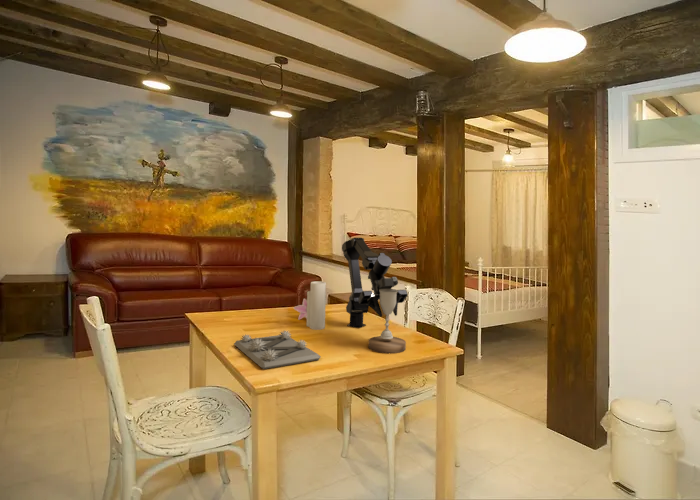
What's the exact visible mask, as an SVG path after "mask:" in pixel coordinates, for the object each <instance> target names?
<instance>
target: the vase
mask: <svg viewBox="0 0 700 500" xmlns="http://www.w3.org/2000/svg"><path fill="white" fill-rule="evenodd" d="M326 289H327V282H325V281H321V280H320V281H315V280H314V281H311V282H310V290H308V291H306V300H307V319H306V327H307V328H308V327H309V329H310V330H313V331H314V330H315V331H317V330H319V331H320V330H325V328H326V298H327V295H326V294H327V290H326Z"/></svg>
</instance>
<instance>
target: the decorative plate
mask: <svg viewBox="0 0 700 500" xmlns="http://www.w3.org/2000/svg"><path fill="white" fill-rule="evenodd" d="M279 333H280V334H278V335H269V336H262V337H254V338H253V337H251V335H250V334H247V333H245V334H242V335H241V337H240V340H239V339H237V340H235V342H234V343H233V344H234V346H236V347H237V348H238V349H239V350H240V351H241V352H242V353H244V354H245V355H246V356H247V357H248V358H249V359H251V360H252V361H253V362H254V363H255V364H257V365H258V366H259V367H260V368H261V369H262V370H269V368H270V369H274V368H275V367H276V368H280V367H281V366H282V367H287V366H292V365H297V364H304V362H305V363H309V362H316V361H319V360H320V359H321V357H322V356H321V355H319V354H318V353H317V352H315V351H314V350H312V349H310V348H308V345H307V344H308V343H307V342H306V341H305V339H304V340H303V339H299V340H295V339H294V338H292V336H291V335H292V333H290V331H289V330H283V331H279Z"/></svg>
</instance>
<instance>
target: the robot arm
mask: <svg viewBox="0 0 700 500" xmlns="http://www.w3.org/2000/svg"><path fill="white" fill-rule="evenodd" d="M341 251H342V252H343V257H344V258H345V260H346V261H347V262H348V270H349V278H350V286H351V293H350V295H349V297H348V299H349V301H348V303H347V304H346V307H345V308H346V309H345V310H346V313H348V314H349V323H348V324H347V325H346V326H347V327H351V328H356V329H361V328H362V327H363V328H364V327H366V326H367V324H366V323H364V314H367V313H368V312H369V307H370V308H371V309H372V311H374V312H375V313H376V314H377V315H378V316H379V317H383V311H382V308H381V305H380V302H379V300H380V292H379V289H393V288H394V287H396V286H397V285H398V284H399V282H398V278H397V277H396V276H392V277H385V275H386V274H387V273H388V271H389V269H390V267H391V265H392V262H393V260H392V259H391V257H390V256H388V255H386V254H385V252H380V253H377V252H373V251H372V250H371V248H370V247H369V245H368V244H367V243H366V242H365V238H364V237H352V238H351V239H349V240H346V241H344V242H343V243H342V244H341ZM360 257H361V259H362V262H361V264H362V267H363V268H364V270H366V271H367V270H368V276H367V279H368V280H370V283H371V290H363V285H362V277H361V270H360V262H359V258H360ZM397 290H398V292H397V296H396V305H395V308H394V310H393V311H392V313H393V314H394V316H395V317H397V316H398V307H399V306H398V305H399V304H402V303H404V302H405V301H406V299H407V298H408V296H409V295H408V294H409V293H408V290H407V289H397Z"/></svg>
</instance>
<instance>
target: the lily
mask: <svg viewBox="0 0 700 500" xmlns="http://www.w3.org/2000/svg"><path fill="white" fill-rule="evenodd" d="M293 309H294V311H297V312H298V313H299V316H298V319H297V320H299V321H300V320H302V319H303V318H305V319H306V320H307V298H303V300H302V304H299V305H296V306H294V307H293Z"/></svg>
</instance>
